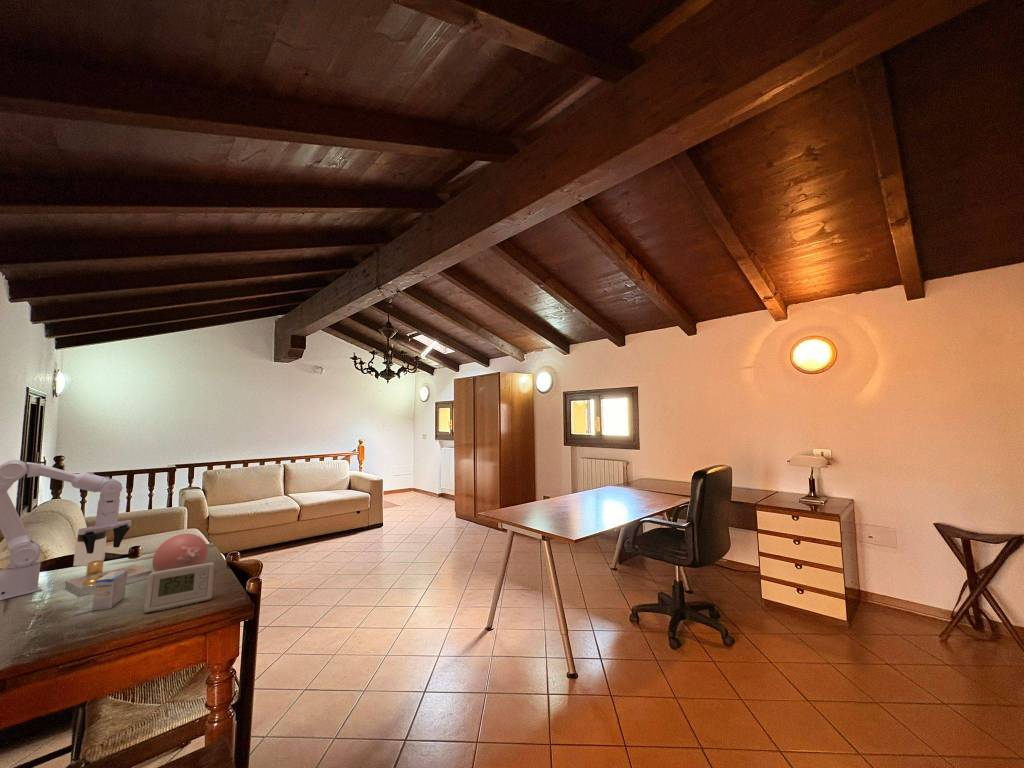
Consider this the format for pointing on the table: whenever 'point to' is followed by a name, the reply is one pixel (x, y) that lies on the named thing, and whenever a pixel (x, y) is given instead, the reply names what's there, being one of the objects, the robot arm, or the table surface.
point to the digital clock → (179, 587)
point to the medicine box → (109, 590)
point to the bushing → (95, 567)
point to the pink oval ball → (180, 552)
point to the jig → (88, 582)
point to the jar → (98, 554)
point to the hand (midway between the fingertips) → (103, 550)
